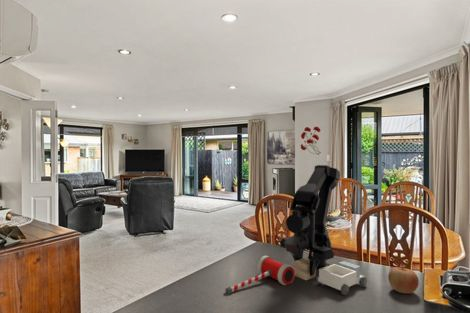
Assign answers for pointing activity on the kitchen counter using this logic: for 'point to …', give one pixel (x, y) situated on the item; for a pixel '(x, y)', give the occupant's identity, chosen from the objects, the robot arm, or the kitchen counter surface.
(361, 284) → the toy truck
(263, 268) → the toy hammer
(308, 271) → the cream wooden cube
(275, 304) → the kitchen counter surface
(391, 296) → the kitchen counter surface
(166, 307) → the kitchen counter surface
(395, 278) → the apple
